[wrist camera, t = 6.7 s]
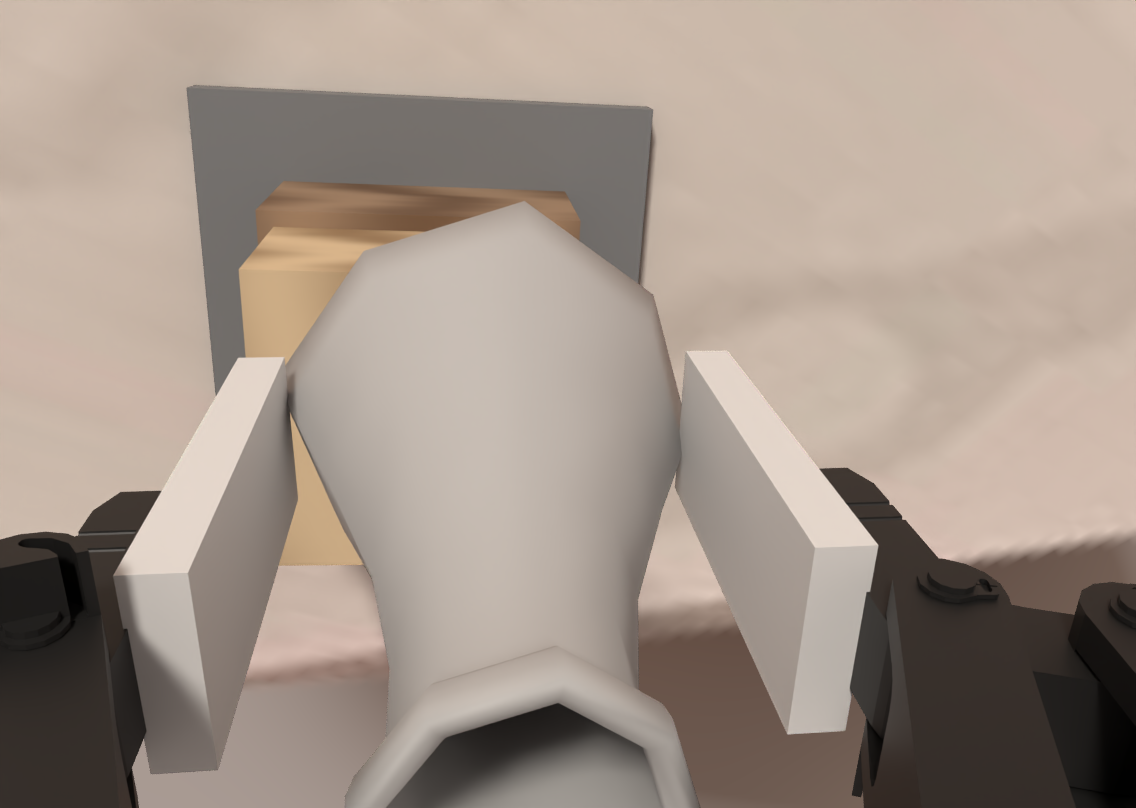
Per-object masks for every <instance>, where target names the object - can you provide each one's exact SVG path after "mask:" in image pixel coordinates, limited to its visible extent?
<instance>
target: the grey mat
mask: <svg viewBox="0 0 1136 808" xmlns="http://www.w3.org/2000/svg"><path fill="white" fill-rule="evenodd" d="M187 97H188V108H189V118H190V129H191V139H192V150H193V161H194V171H195V182H196V192H197V203H198V213H199V224H200V234H201V245H202V256H203V266H204V277H205V287H206V298H207V308H208V319H209V329H210V340H211V351H212V361H213V372H214V382H215V393H216V396H217V394H218V392H219V390H220V389H221V387H222V385H223V383H224V382H225V380H226V378H227V376H228V375H229V373H230V371H231V369H232V368H233V366H234V364H235V362H236V361H237V359H238V358H246V354H245V342H244V330H243V317H242V305H241V292H240V280H239V268H240V267H241V266H242V265H243V263H244V262H245V261H246V260H247V259H248V257H249V256H250V255H251V254H252V252H253V251H254V250H255V249H256V248H257V246H258V239H257V225H256V211H255V210H256V209H257V208H258V207H259V206H260V205H261V204H262V203H263V202H264V201H265V200H266V199H267V198H268V197H269V195H270V194H271V193H272V192H273V191H274V190H275V189H276V188H277V187H278V186H279V185H280V184H281V183H282V182H283V181H295V182H322V183H349V184H376V185H403V186H431V187H458V188H485V189H512V190H539V191H565V193H566V194H567V196H568V198H569V200H570V202H571V204H572V206H573V208H574V209H575V211H576V213H577V215H578V217H579V219H580V221H581V222H580V239H579V241H580V242H582V243H583V244H584V245H586V246H587V247H588V248H590V249H591V250H592V251H594V252H595V253H597V254H598V255H599V256H601V257H602V258H603V259H605V260H606V261H608V262H609V263H610V264H612V265H613V266H614V267H616V268H617V269H619V270H620V271H621V272H623V273H624V274H625V275H627V276H628V277H630V278H631V279H632V280H634V281H635V282H636V283H638V279H639V268H640V256H641V244H642V233H643V221H644V210H645V198H646V186H647V175H648V163H649V151H650V140H651V128H652V117H653V109H651V108H649V107H640V106H619V105H599V104H578V103H557V102H536V101H515V100H494V99H473V98H452V97H431V96H410V95H389V94H368V93H347V92H326V91H305V90H284V89H263V88H242V87H221V86H200V85H193V86H190V87H187Z"/></svg>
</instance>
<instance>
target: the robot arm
mask: <svg viewBox="0 0 1136 808" xmlns="http://www.w3.org/2000/svg"><path fill="white" fill-rule="evenodd" d="M287 399H288V388H287V377H286V367H285V357H255V358H238V359H237V361H236V362H235V364H234V366H233V368H232V369H231V371H230V373H229V375H228V376H227V378H226V380H225V382H224V383H223V385H222V387H221V389H220V390H219V392H218V394H217V396H216V397H215V399H214V401H213V403H212V404H211V406H210V408H209V410H208V411H207V413H206V415H205V416H204V418H203V420H202V422H201V423H200V425H199V427H198V429H197V430H196V432H195V434H194V436H193V437H192V439H191V441H190V443H189V444H188V446H187V448H186V450H185V451H184V453H183V455H182V457H181V458H180V460H179V462H178V463H177V465H176V467H175V469H174V470H173V472H172V474H171V476H170V477H169V479H168V481H167V483H166V484H165V486H164V488H163V490H162V491H139V492H120V493H119V494H117V495H116V496H114V497H113V498H111V499H110V500H108V501H107V502H105V503H104V504H102V505H101V506H99V507H98V508H96V509H95V510H93V511H92V513H91V514H90V516H89V517H88V519H87V520H86V522H85V523H84V524H83V526H82V527H81V529H80V530H79V535H78V536H75V537H74V536H71V535H69V534H64V533H53V532H39V533H29V534H20V535H16V536H12V537H9V538H5V539H1V540H0V808H139V805H138V797H137V791H136V786H135V782H134V776H133V771H132V766H133V763H134V761H135V758H136V756H137V754H138V751H139V748H140V746H141V744H142V741H143V739H144V741H145V746H146V752H147V757H148V762H149V768H150V773H151V774H163V773H179V772H195V771H211V770H218V768H219V765H220V762H221V758H222V755H223V752H224V749H225V745H226V742H227V738H228V735H229V732H230V728H231V725H232V721H233V718H234V714H235V711H236V708H237V704H238V701H239V698H240V694H241V691H242V688H243V684H244V681H245V678H246V674H247V671H248V667H249V664H250V661H251V657H252V654H253V650H254V647H255V644H256V640H257V637H258V634H259V630H260V627H261V623H262V620H263V617H264V613H265V610H266V606H267V603H268V600H269V596H270V593H271V590H272V586H273V583H274V579H275V576H276V573H277V569H278V566H279V563H280V559H281V556H282V552H283V549H284V546H285V542H286V539H287V535H288V532H289V529H290V525H291V522H292V519H293V515H294V512H295V508H296V505H297V502H298V491H297V481H296V471H295V460H294V450H293V440H292V429H291V419H290V411H289V408H288V406H287ZM679 431H680V440H681V451H682V456H681V459H680V462H679V465H678V467H677V470H676V480H675V489H676V491H677V493H678V495H679V497H680V500H681V502H682V504H683V506H684V508H685V510H686V513H687V515H688V517H689V519H690V521H691V524H692V526H693V528H694V530H695V532H696V535H697V537H698V539H699V541H700V543H701V546H702V548H703V550H704V552H705V554H706V557H707V559H708V561H709V563H710V565H711V568H712V570H713V572H714V574H715V576H716V579H717V581H718V583H719V585H720V587H721V590H722V592H723V594H724V596H725V598H726V601H727V603H728V605H729V607H730V609H731V612H732V614H733V616H734V618H735V620H736V623H737V625H738V627H739V629H740V631H741V634H742V636H743V638H744V640H745V642H746V645H747V647H748V649H749V651H750V653H751V656H752V658H753V660H754V662H755V664H756V666H757V669H758V671H759V673H760V675H761V677H762V680H763V682H764V684H765V686H766V689H767V691H768V693H769V695H770V697H771V699H772V702H773V704H774V706H775V708H776V710H777V713H778V715H779V717H780V719H781V721H782V723H783V726H784V728H785V730H786V732H787V734H800V733H817V732H833V731H845V729H846V723H847V718H848V712H849V707H850V701H851V696H852V693H853V695H854V697H855V698H856V700H857V702H858V704H859V705H860V707H861V709H862V710H863V712H864V714H865V716H866V723H865V728H864V733H863V738H862V744H861V749H860V754H859V760H858V765H857V770H856V775H855V781H854V787H853V791H852V795H853V796H858V797H861V795H862V792H863V798H864V808H1136V584H1123V583H1115V582H1108V583H1099V584H1093V585H1091V586H1089V587H1088V588H1086V589H1084V590H1082V592H1081V595H1080V599H1079V602H1078V605H1077V609H1076V612H1075V615H1072V614H1065V613H1057V612H1052V611H1045V610H1038V609H1031V608H1025V607H1020V606H1015V605H1011V602H1010V599H1009V597H1008V595H1007V593H1006V592H1005V590H1004V589H1003V587H1002V586H1001V584H1000V583H998V582H997V581H996V580H994V579H993V578H992V577H990V576H989V575H988V574H986V573H985V572H982V571H980V570H978V569H976V568H973V567H971V566H969V565H966V564H963V563H959V562H955V561H950V560H946V559H939V558H938V557H937V556H936V555H935V554H934V553H933V551H932V550H931V549H930V548H929V547H928V546H927V544H926V543H925V542H924V541H923V540H922V539H921V538H920V536H919V535H918V534H917V533H916V532H915V531H914V529H913V528H912V527H911V526H910V525H909V524H908V522H907V521H906V520H902V515H901V514H900V513H899V512H898V511H897V510H896V509H895V507H894V506H893V505H889V500H888V499H887V498H886V497H885V496H884V495H883V493H882V492H881V491H880V490H879V489H878V488H877V487H876V485H875V484H874V483H872V482H871V481H869V480H867V479H865V478H864V477H862V476H860V475H859V474H857V473H855V472H853V471H852V470H850V469H848V468H825V469H819V468H818V467H817V465H816V464H815V463H814V462H813V460H812V459H811V458H810V456H809V455H808V454H807V453H806V451H805V450H804V449H803V447H802V446H801V445H800V444H799V442H798V441H797V440H796V438H795V437H794V436H793V435H792V433H791V432H790V431H789V429H788V428H787V427H786V426H785V424H784V423H783V422H782V420H781V419H780V418H779V416H778V415H777V414H776V413H775V411H774V410H773V409H772V407H771V406H770V405H769V404H768V402H767V401H766V400H765V398H764V397H763V396H762V395H761V393H760V392H759V391H758V389H757V388H756V387H755V386H754V384H753V383H752V382H751V380H750V379H749V378H748V376H747V375H746V374H745V373H744V371H743V370H742V369H741V367H740V366H739V365H738V364H737V362H736V361H735V360H734V358H733V357H732V356H731V355H730V353H729V352H728V351H686V354H685V367H684V380H683V392H682V405H681V417H680V430H679Z"/></svg>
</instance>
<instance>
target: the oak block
mask: <svg viewBox="0 0 1136 808" xmlns="http://www.w3.org/2000/svg"><path fill="white" fill-rule="evenodd" d="M420 233H423V232H421V231H389V230H357V229H325V228H293V227H273V228H272V229H271V230H270V232H269V233H268V234H267V235H266V236H265V238H264V239H263V240H262V241H261V243H260V244H259V245H258V246H257V248H256V249H255V250H254V251H253V252H252V254H251V255H250V256H249V257H248V259H247V260H246V261H245V262H244V263H243V265H242V266H241V267H240V268H239V280H240V292H241V305H242V317H243V330H244V342H245V354H246V358H255V357H285V365H286V364H287V362H288V361H289V359H290V358H291V356H292V355H293V354H294V352H295V351H296V349H297V348H298V346H299V345H300V343H301V342H302V340H303V339H304V337H305V336H306V334H307V333H308V332H309V330H310V329H311V327H312V326H313V324H314V323H315V321H316V320H317V318H318V317H319V315H320V314H321V313H322V311H323V310H324V308H325V307H326V305H327V304H328V302H329V301H330V299H331V298H332V296H333V295H334V294H335V292H336V291H337V289H338V288H339V286H340V285H341V283H342V282H343V280H344V279H345V277H346V276H347V275H348V273H349V272H350V270H351V269H352V267H353V266H354V264H355V263H356V261H357V260H358V258H359V257H360V256H361V254H362V253H363V251H365V250H369V249H372V248H375V247H378V246H381V245H385V244H388V243H391V242H394V241H397V240H401V239H404V238H407V237H410V236H414V235H417V234H420ZM290 419H291V429H292V440H293V450H294V460H295V471H296V481H297V491H298V502H297V505H296V508H295V512H294V515H293V519H292V522H291V525H290V529H289V532H288V535H287V539H286V542H285V546H284V549H283V552H282V556H281V559H280V563H279V566H281V565H364V564H363V563H362V561H361V559H360V558H359V556H358V554H357V552H356V551H355V549H354V547H353V545H352V544H351V542H350V540H349V539H348V537H347V535H346V533H345V532H344V530H343V528H342V526H341V524H340V522H339V519H338V517H337V515H336V513H335V511H334V509H333V506H332V504H331V502H330V500H329V498H328V495H327V493H326V491H325V489H324V487H323V484H322V482H321V480H320V478H319V475H318V473H317V471H316V469H315V467H314V464H313V462H312V460H311V458H310V456H309V453H308V451H307V449H306V447H305V445H304V442H303V440H302V438H301V436H300V433H299V431H298V429H297V427H296V425H295V422H294V420H293V418H292V416H291V414H290Z"/></svg>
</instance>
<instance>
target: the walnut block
mask: <svg viewBox="0 0 1136 808" xmlns="http://www.w3.org/2000/svg"><path fill="white" fill-rule="evenodd" d="M523 201H525V202H527V203H528V204H529V205H531V206H532V207H534V208H535V209H536V210H538V211H539V212H540V213H542V214H543V215H544V216H546V217H547V218H549V219H550V220H551V221H553V222H554V223H555V224H557V225H558V226H560V227H561V228H562V229H564V230H565V231H566V232H568V233H569V234H571V235H572V236H573V237H575V238H576V239H577V240H579V239H580V222H581V221H580V219H579V217H578V215H577V213H576V211H575V209H574V208H573V206H572V204H571V202H570V200H569V198H568V196H567V194H566V193H565V191H539V190H512V189H485V188H458V187H431V186H403V185H376V184H349V183H322V182H295V181H283V182H282V183H281V184H280V185H279V186H278V187H277V188H276V189H275V190H274V191H273V192H272V193H271V194H270V195H269V197H268V198H267V199H266V200H265V201H264V202H263V203H262V204H261V205H260V206H259V207H258V208H257V209H256V210H255V211H256V225H257V239H258V245H259V244H260V243H261V241H262V240H263V239H264V238H265V236H266V235H267V234H268V233H269V232H270V230H271V229H272V228H273V227H293V228H325V229H357V230H389V231H421V232H426V231H430V230H433V229H436V228H439V227H442V226H446V225H449V224H452V223H455V222H458V221H462V220H465V219H468V218H471V217H475V216H478V215H481V214H484V213H487V212H491V211H494V210H497V209H500V208H503V207H507V206H510V205H513V204H516V203H519V202H523Z"/></svg>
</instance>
